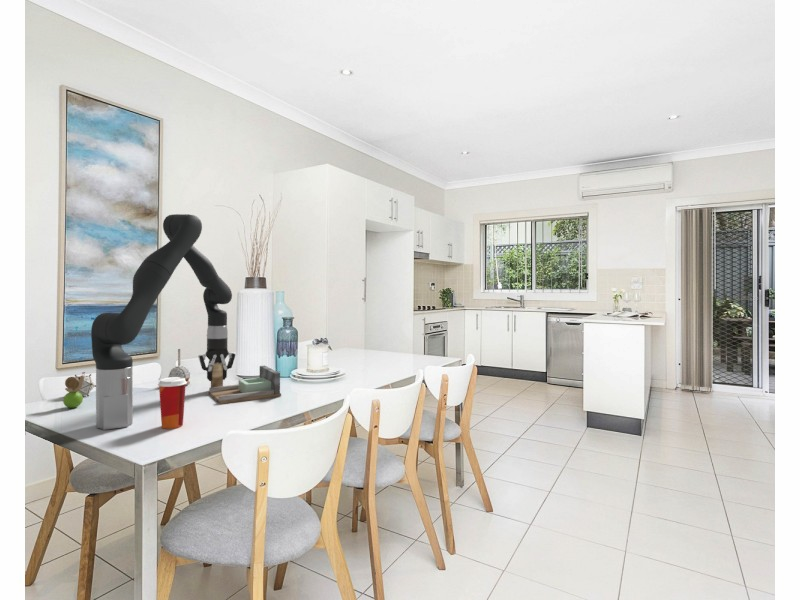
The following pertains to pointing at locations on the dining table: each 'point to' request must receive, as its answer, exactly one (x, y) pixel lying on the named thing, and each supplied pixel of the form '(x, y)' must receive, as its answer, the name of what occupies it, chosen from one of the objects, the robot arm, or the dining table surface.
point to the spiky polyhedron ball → (86, 385)
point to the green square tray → (254, 385)
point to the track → (234, 395)
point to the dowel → (217, 375)
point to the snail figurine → (73, 391)
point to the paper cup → (172, 401)
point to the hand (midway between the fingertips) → (216, 379)
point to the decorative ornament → (180, 371)
